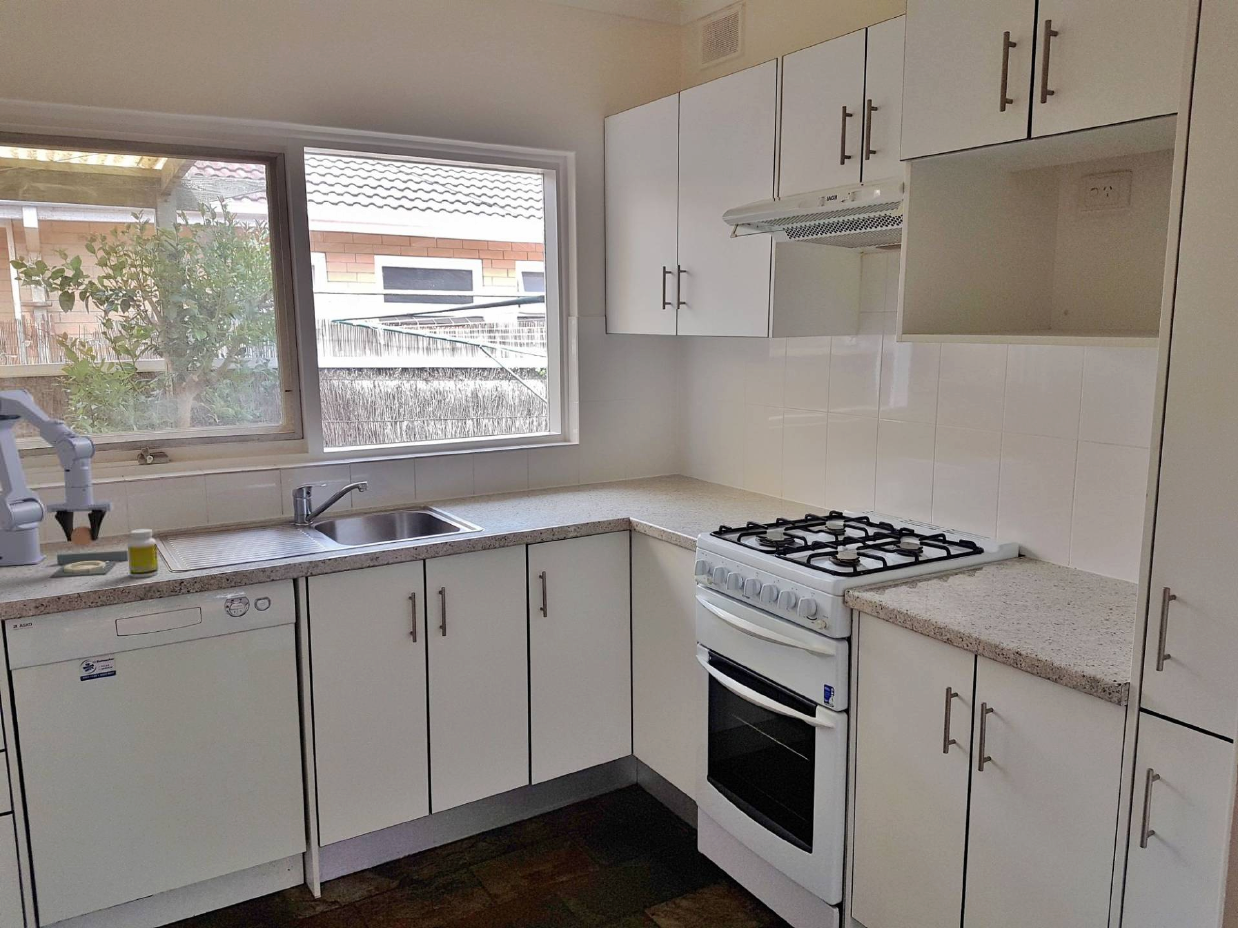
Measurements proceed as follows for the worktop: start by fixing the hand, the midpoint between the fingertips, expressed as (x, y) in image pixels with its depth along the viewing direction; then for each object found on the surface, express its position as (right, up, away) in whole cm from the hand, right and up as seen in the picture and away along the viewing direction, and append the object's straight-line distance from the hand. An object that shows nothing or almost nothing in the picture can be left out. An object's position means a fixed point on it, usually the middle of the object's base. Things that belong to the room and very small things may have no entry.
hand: (82, 540), depth 227 cm
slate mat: (0, -7, +1) cm, 8 cm away
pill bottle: (+17, -8, -3) cm, 19 cm away
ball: (0, -1, 0) cm, 1 cm away
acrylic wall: (-2, -6, +9) cm, 11 cm away
